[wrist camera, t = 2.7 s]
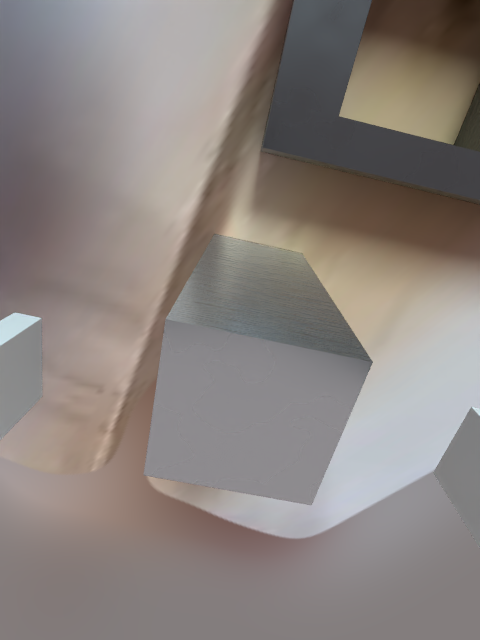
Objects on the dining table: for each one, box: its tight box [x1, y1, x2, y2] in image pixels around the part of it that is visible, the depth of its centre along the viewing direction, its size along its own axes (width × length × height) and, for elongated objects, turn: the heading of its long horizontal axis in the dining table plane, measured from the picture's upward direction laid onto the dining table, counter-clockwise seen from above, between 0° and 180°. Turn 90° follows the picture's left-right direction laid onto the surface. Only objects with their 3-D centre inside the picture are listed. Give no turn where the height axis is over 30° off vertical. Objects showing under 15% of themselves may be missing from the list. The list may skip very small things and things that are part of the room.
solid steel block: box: [144, 234, 373, 505], centre depth 15 cm, size 5×5×12 cm
